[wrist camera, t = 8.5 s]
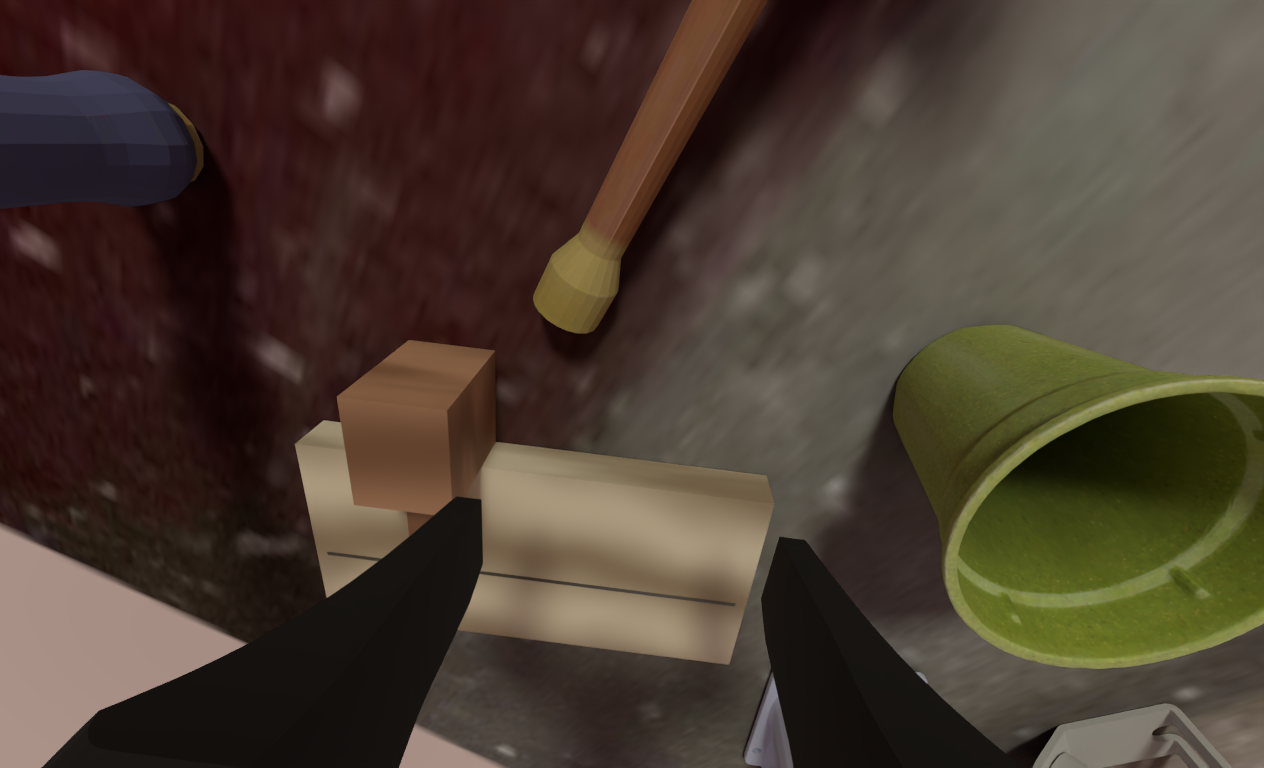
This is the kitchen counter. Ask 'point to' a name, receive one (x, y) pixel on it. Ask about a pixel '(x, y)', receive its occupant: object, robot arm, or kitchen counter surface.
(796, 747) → the robot arm
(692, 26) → the hammer
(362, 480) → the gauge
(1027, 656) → the plant pot
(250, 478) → the kitchen counter surface
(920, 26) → the kitchen counter surface
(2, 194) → the rubber mallet
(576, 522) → the board
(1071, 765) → the clamp
